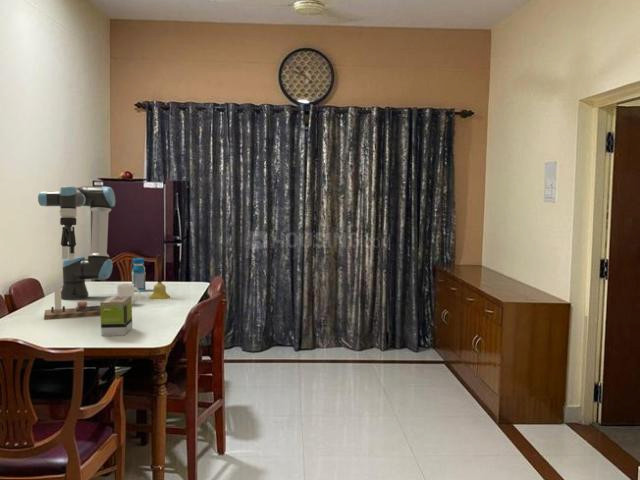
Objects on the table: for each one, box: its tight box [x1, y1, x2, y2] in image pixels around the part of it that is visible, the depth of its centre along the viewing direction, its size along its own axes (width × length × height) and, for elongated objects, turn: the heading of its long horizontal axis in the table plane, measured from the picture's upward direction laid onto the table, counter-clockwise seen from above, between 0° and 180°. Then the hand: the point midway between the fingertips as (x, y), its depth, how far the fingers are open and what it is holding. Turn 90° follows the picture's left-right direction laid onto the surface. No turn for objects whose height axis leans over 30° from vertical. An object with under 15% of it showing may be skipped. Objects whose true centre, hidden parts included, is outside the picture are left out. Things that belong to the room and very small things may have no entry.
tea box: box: [99, 295, 133, 337], centre depth 259 cm, size 15×10×15 cm
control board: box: [43, 305, 101, 320], centre depth 297 cm, size 36×14×4 cm, turn 113°
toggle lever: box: [53, 287, 63, 310], centre depth 294 cm, size 3×1×11 cm, turn 113°
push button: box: [76, 301, 88, 307], centre depth 296 cm, size 4×4×2 cm
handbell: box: [148, 254, 171, 300], centre depth 345 cm, size 12×12×25 cm
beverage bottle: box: [131, 257, 147, 292], centre depth 370 cm, size 8×8×20 cm
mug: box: [116, 283, 141, 305], centre depth 324 cm, size 9×12×11 cm
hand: (68, 259), depth 300 cm, fingers open, 13 cm apart
